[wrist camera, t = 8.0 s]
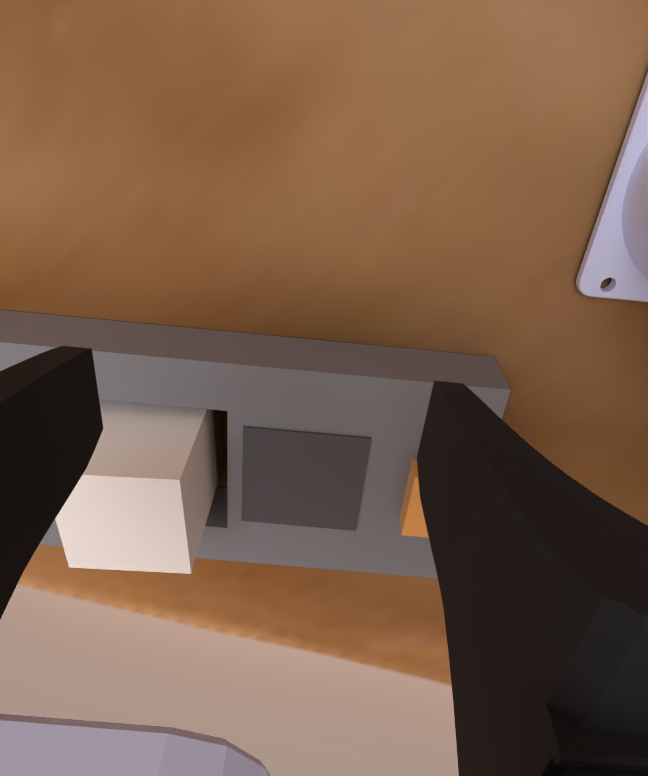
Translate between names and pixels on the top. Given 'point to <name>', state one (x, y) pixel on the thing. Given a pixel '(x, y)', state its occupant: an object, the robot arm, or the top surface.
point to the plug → (144, 489)
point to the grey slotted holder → (285, 431)
